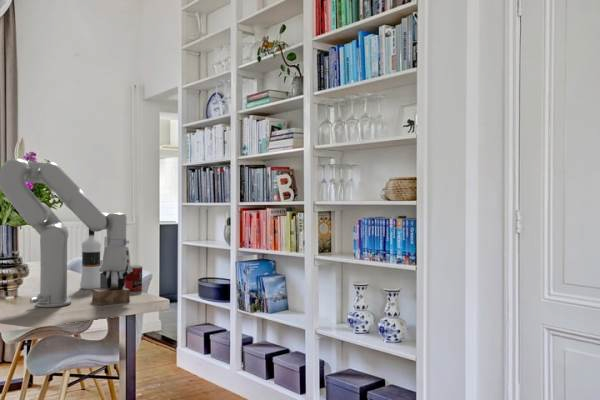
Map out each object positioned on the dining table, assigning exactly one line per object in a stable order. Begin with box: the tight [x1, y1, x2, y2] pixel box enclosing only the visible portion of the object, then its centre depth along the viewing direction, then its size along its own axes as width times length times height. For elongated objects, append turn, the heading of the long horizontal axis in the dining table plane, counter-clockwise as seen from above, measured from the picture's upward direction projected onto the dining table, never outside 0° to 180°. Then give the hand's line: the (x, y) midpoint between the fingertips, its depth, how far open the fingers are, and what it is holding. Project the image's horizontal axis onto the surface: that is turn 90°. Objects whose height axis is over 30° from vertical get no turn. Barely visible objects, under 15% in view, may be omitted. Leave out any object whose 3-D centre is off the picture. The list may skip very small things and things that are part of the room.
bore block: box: [91, 287, 131, 306], centre depth 215 cm, size 12×9×5 cm
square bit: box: [99, 272, 108, 289], centre depth 228 cm, size 4×4×10 cm
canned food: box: [124, 264, 143, 292], centre depth 243 cm, size 8×8×11 cm
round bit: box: [111, 270, 121, 290], centre depth 216 cm, size 4×4×10 cm
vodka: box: [79, 228, 102, 290], centre depth 247 cm, size 9×9×30 cm
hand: (115, 287), depth 216 cm, fingers closed on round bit, 4 cm apart
